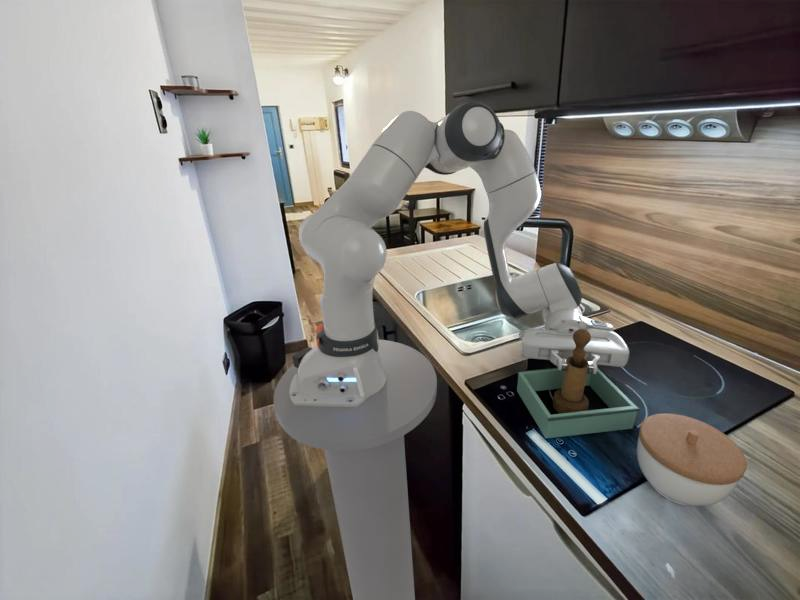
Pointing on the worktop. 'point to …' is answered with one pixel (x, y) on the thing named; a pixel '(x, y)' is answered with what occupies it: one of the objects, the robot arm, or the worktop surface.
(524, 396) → the green square frame
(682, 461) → the lidded bowl
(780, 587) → the worktop surface
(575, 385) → the mortar and pestle
